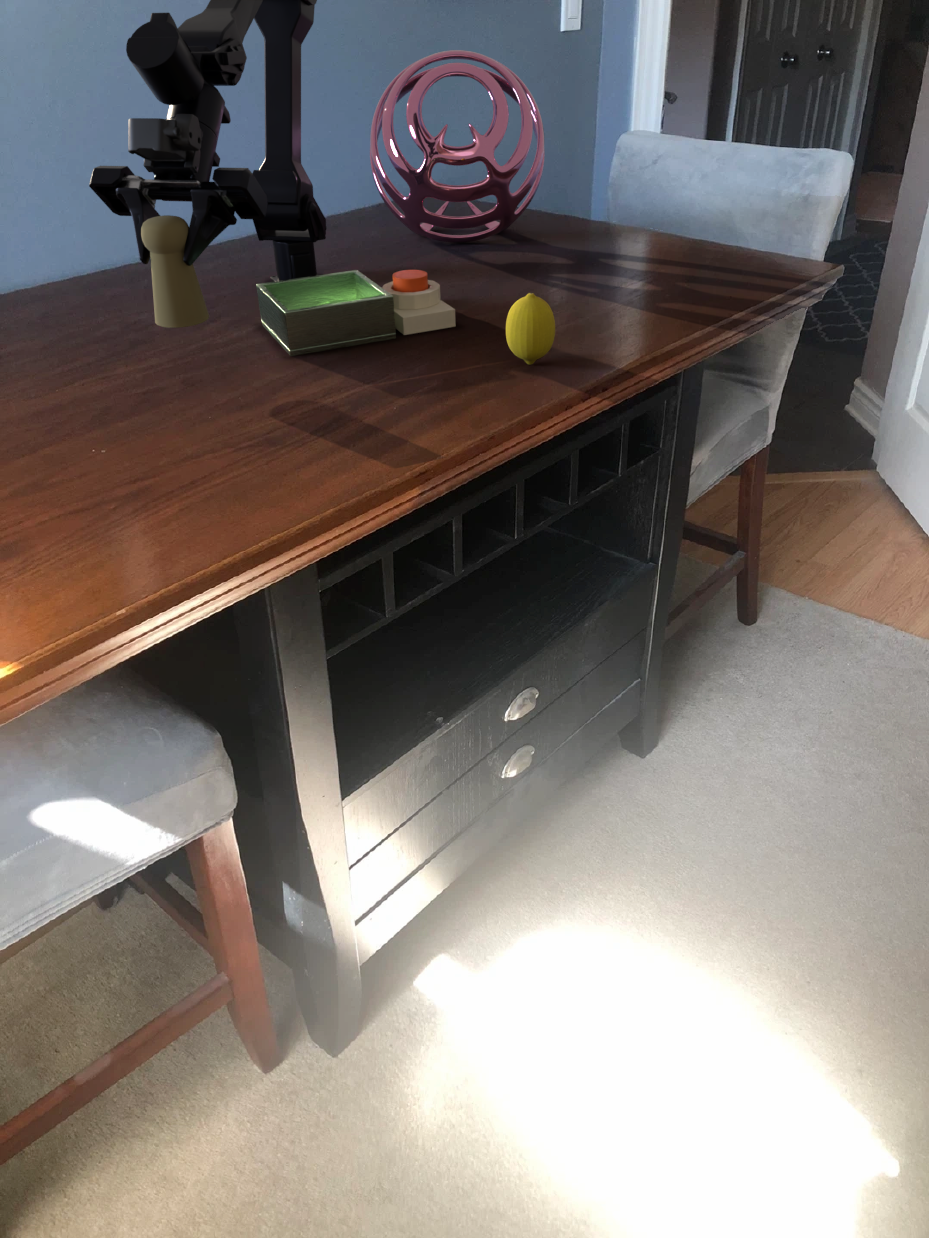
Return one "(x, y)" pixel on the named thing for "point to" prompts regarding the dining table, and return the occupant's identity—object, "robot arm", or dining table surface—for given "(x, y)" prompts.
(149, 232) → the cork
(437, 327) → the control block
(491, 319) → the dining table surface
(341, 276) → the warming box
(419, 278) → the button
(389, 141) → the pink openwork sphere
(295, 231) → the robot arm
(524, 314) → the lemon
